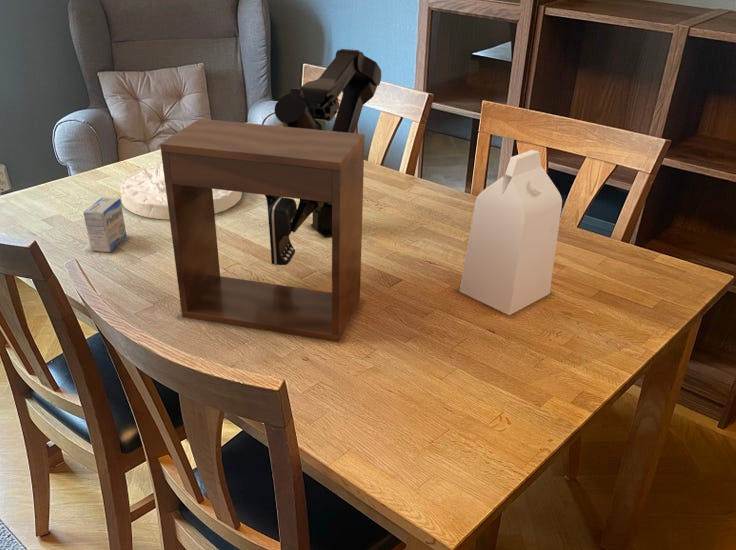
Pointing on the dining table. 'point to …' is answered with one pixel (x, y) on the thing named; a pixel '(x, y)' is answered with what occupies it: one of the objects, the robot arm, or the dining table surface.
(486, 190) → the milk
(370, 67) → the robot arm
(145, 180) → the cake
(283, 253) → the black rounded piece
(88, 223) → the medicine box
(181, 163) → the brown wooden cubby shelf
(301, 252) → the dining table surface
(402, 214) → the dining table surface
